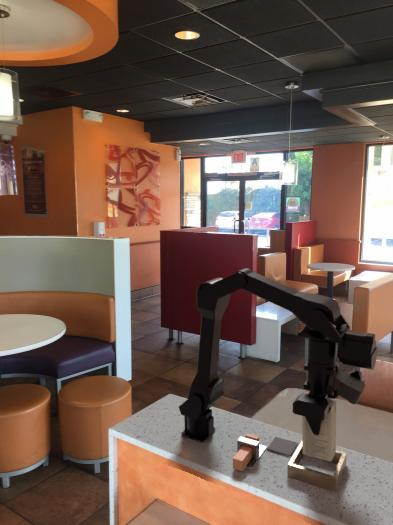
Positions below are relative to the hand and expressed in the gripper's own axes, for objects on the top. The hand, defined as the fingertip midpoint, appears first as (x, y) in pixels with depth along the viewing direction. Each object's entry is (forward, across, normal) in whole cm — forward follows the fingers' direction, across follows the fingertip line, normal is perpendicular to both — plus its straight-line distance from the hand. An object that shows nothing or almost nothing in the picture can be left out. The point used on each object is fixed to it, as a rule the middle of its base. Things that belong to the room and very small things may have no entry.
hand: (319, 429), depth 94 cm
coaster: (+10, +5, +10) cm, 15 cm away
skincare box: (+6, 0, 0) cm, 6 cm away
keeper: (+10, -1, +15) cm, 18 cm away
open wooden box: (+10, 0, 0) cm, 10 cm away
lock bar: (+10, -3, +15) cm, 18 cm away
